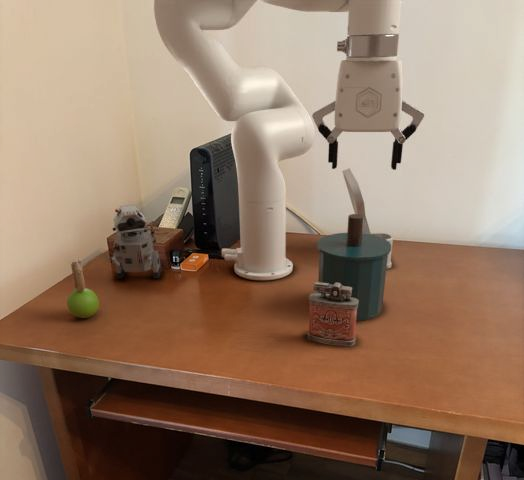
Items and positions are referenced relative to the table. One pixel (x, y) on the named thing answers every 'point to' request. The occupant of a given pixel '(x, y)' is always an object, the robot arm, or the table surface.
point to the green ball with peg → (81, 295)
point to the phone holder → (362, 208)
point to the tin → (357, 281)
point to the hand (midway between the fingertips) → (363, 167)
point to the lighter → (332, 314)
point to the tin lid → (354, 243)
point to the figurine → (134, 243)
